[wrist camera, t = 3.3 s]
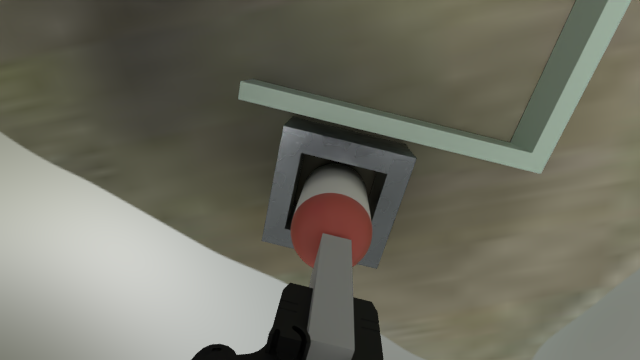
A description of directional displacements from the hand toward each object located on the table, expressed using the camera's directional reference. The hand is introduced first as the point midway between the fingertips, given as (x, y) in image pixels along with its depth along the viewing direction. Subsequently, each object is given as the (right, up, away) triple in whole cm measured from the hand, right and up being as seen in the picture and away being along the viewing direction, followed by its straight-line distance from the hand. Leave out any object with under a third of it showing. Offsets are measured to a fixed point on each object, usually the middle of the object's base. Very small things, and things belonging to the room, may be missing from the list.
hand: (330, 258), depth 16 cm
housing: (+1, +4, +10) cm, 11 cm away
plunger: (+1, +3, +8) cm, 8 cm away
